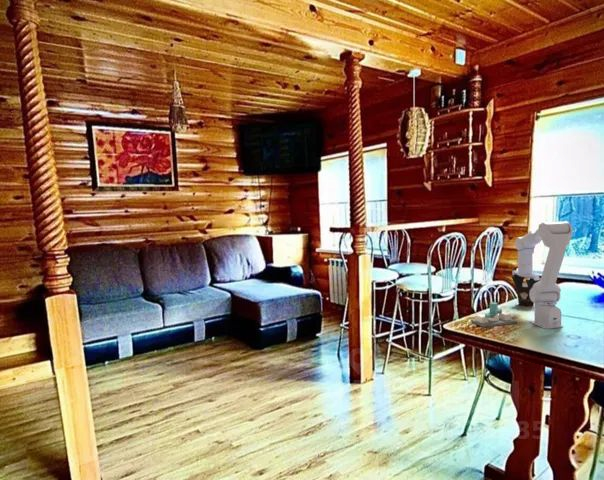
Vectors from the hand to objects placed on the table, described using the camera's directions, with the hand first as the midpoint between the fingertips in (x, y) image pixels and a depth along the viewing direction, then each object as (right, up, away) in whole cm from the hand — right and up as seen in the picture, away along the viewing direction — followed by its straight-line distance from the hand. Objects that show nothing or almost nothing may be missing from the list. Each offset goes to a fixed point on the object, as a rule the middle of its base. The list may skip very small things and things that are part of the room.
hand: (525, 293), depth 180 cm
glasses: (-19, -8, -10) cm, 23 cm away
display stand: (-19, -11, -9) cm, 24 cm away
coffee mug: (+9, -8, +12) cm, 17 cm away
